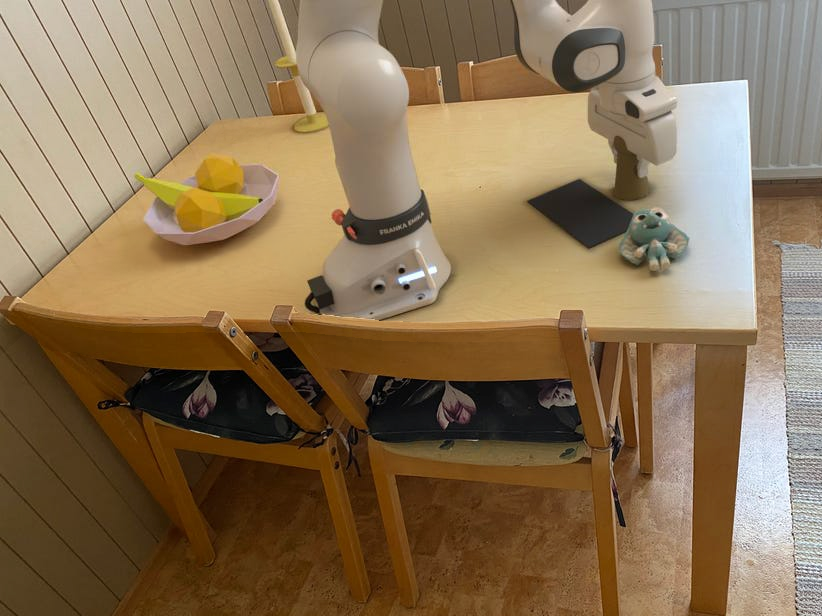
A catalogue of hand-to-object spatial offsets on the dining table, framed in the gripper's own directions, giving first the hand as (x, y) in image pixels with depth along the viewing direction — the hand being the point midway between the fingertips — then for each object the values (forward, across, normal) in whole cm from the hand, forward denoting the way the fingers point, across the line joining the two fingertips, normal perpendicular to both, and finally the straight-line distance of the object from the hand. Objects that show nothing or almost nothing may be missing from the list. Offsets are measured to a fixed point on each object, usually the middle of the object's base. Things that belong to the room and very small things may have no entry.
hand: (631, 169), depth 127 cm
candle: (+4, -80, -35) cm, 87 cm away
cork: (+4, 0, 0) cm, 4 cm away
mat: (+4, 0, -10) cm, 11 cm away
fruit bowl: (+4, -48, -65) cm, 81 cm away
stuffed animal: (+4, +18, -9) cm, 20 cm away
